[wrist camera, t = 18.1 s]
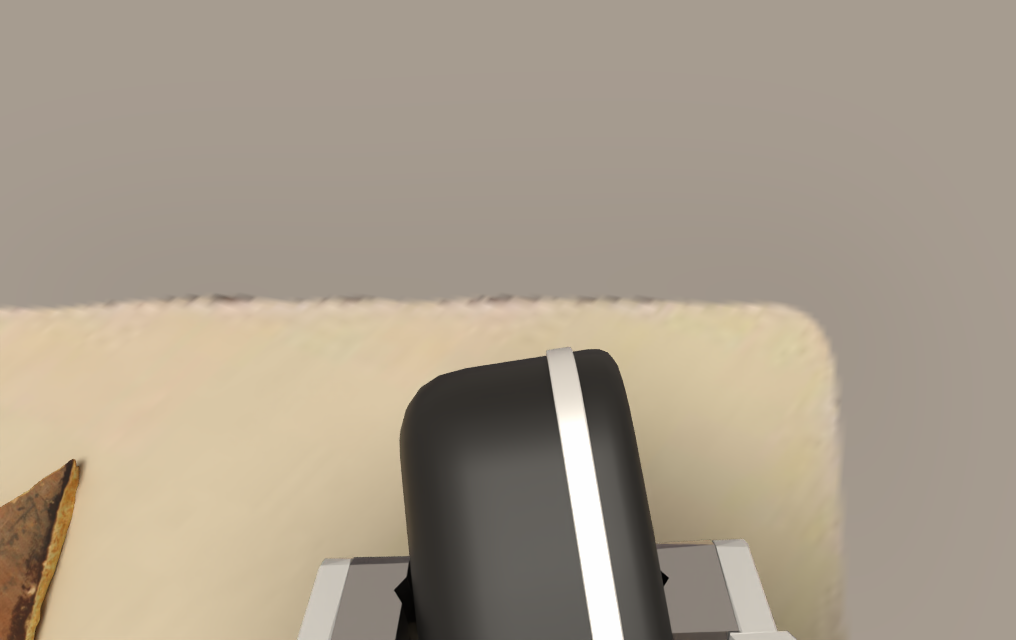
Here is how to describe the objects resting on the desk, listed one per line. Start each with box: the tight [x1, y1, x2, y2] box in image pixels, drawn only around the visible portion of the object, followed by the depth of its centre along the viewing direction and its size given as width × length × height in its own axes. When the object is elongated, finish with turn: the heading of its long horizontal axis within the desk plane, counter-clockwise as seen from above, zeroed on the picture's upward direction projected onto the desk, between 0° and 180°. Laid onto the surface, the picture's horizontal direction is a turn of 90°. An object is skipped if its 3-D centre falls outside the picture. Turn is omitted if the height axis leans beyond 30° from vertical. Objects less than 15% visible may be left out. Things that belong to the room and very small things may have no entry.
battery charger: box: [400, 347, 673, 640], centre depth 15 cm, size 7×4×11 cm, turn 8°
